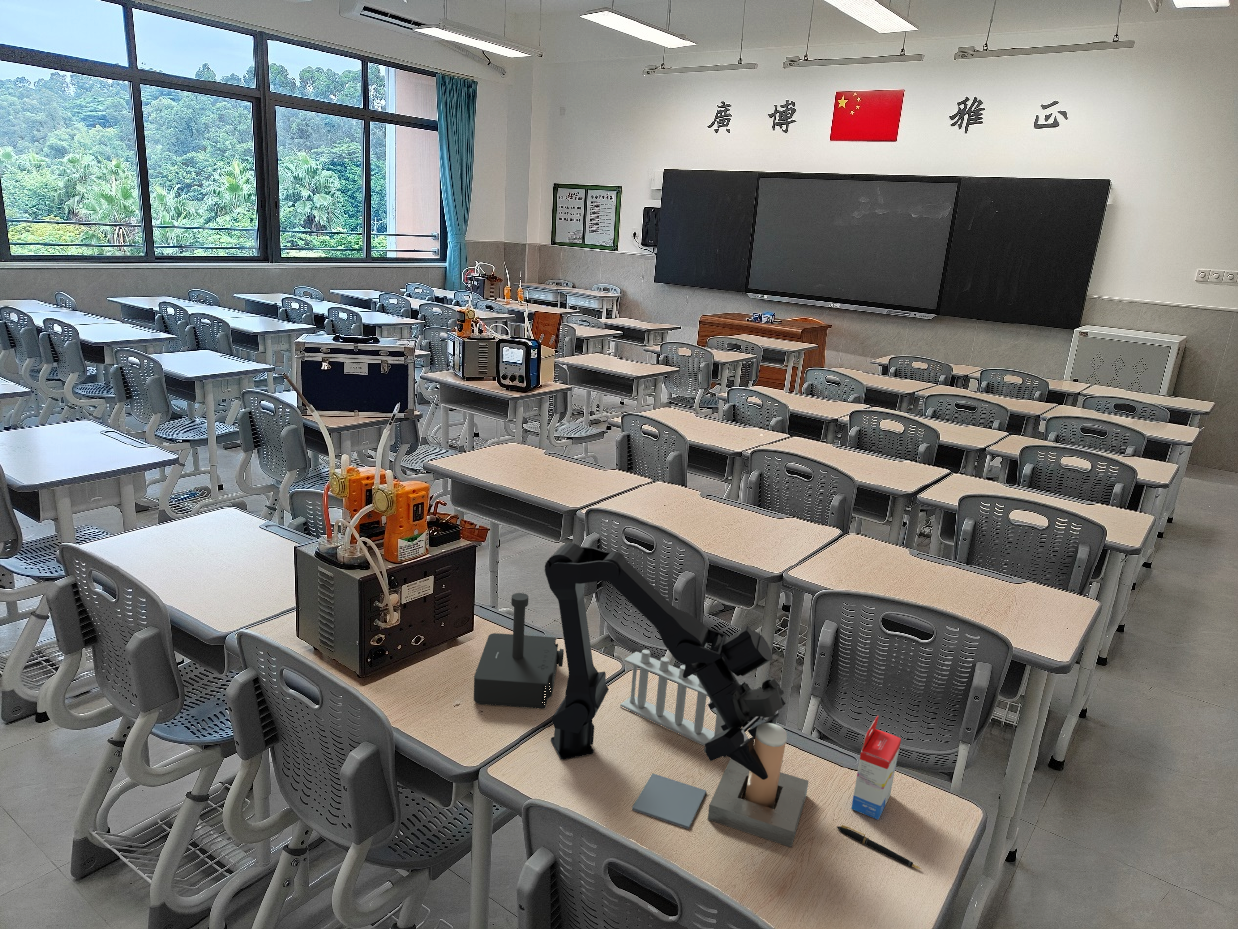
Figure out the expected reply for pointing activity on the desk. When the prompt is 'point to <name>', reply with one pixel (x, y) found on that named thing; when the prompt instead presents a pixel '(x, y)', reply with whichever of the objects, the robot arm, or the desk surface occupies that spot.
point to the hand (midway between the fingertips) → (773, 771)
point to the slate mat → (669, 800)
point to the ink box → (875, 771)
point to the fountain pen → (874, 845)
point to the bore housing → (758, 806)
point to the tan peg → (767, 764)
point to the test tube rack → (657, 711)
